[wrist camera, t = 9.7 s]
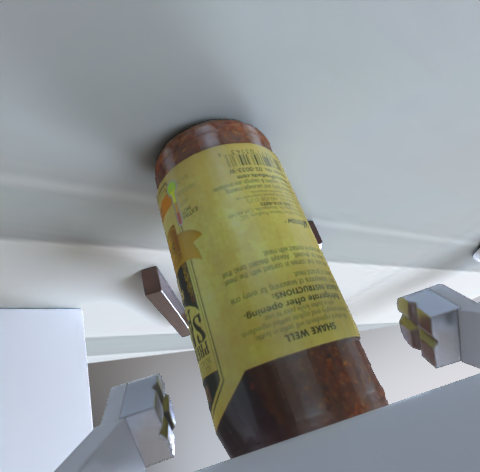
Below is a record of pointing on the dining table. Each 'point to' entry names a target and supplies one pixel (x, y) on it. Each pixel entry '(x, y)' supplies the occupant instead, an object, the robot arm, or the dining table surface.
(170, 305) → the bottle bay
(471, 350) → the robot arm
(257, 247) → the sauce bottle
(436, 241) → the dining table surface
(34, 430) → the milk
